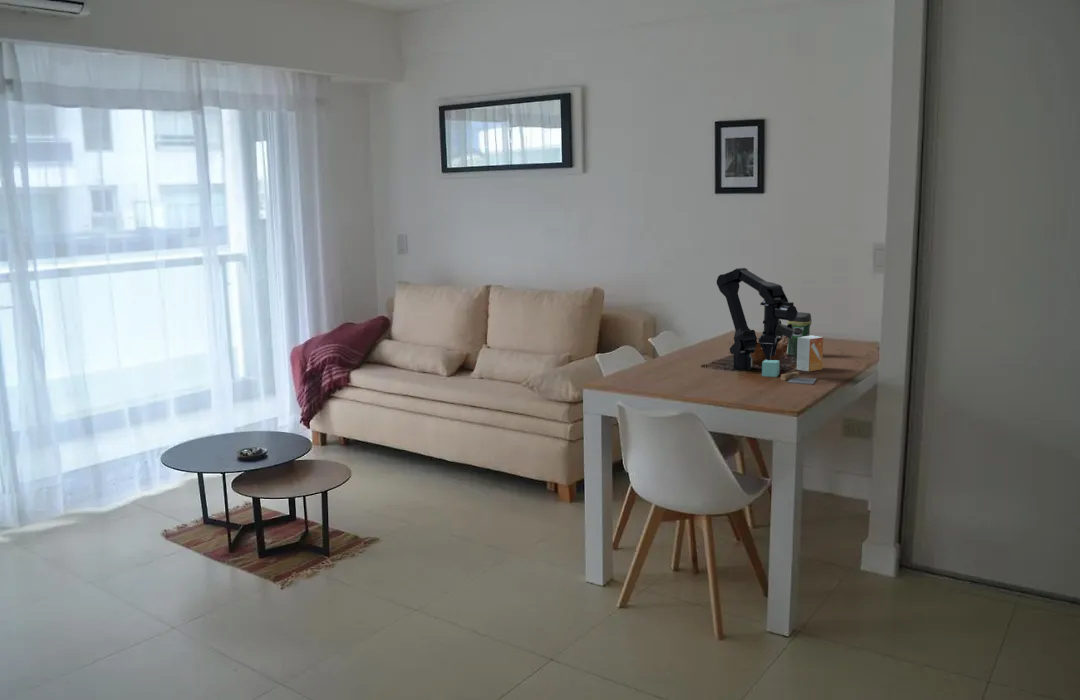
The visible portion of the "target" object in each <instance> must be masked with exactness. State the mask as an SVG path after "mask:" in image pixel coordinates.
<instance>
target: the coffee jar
mask: <svg viewBox="0 0 1080 700" xmlns="http://www.w3.org/2000/svg"><path fill="white" fill-rule="evenodd" d="M788 324H792V325H793V329H795V332H794V334H793V336H792V337H791V338H787V339H788V341H787V349H786V350H787V351H786V354H787V355H788V356H789V357H790V356H791V357H797V341H798V337H803V336H810V335H811V332H810V328H811V325H812V315H811V313H810V312H801V311H800V312H798V311H797V317H796V318H795V319H794V320H793V321H789V320H787V325H788Z"/></svg>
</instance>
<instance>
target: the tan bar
mask: <svg viewBox="0 0 1080 700" xmlns="http://www.w3.org/2000/svg"><path fill="white" fill-rule="evenodd" d="M795 377H799V378H800V372H799V371H793V372H792V371H791V372H788V373H782V374H780V380H781V381H785V382H786V381H789V380H790V379H791V378H795Z"/></svg>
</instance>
